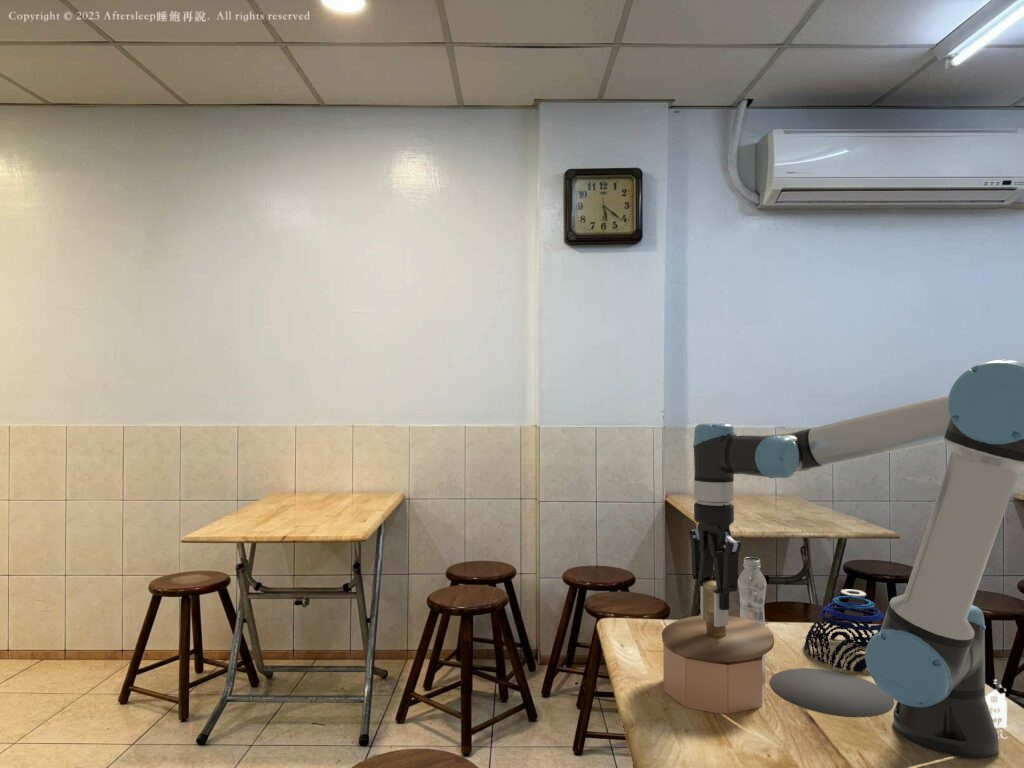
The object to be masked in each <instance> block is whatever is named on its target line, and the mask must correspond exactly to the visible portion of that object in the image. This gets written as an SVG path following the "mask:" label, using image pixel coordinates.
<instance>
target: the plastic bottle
mask: <svg viewBox="0 0 1024 768" xmlns="http://www.w3.org/2000/svg"><path fill="white" fill-rule="evenodd" d="M743 567H744V569H743V570H742V571H741V572H740V573H739V575H738V586H737V589H738V593H739V603H740V606H739V607H740V610H739V611H740V612H739V617H740V618H745V619H749V620H752V621H755V622H758V623H760V624H762V625H764V626H766V619H765V618H766V617H765V598H766V592H767V580H766V578H765V576H764V574H763V572H762V571H761V570H760V568H761V567H762V566H761V559H760V558H759V557H753V556H752V557H751V556H747V557H744V558H743Z"/></svg>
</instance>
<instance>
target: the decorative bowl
mask: <svg viewBox="0 0 1024 768" xmlns="http://www.w3.org/2000/svg"><path fill="white" fill-rule="evenodd" d="M840 593H841V594H843V595H841V596H840V595H839V596H836V597H833V598H832V602H831V603H830V602H829V603H826V605H825V606H824V607H823V609H821V610H820V612H819V616H820V618H821V619H822V621H821V622H820V620H816V621H814V622H813V624H812V625H810V629H809V630H808V631H807V634H806V637H805V642H804V647H803V649H804V650H807V654H808V656H809V657H811V656H812V658H813V659H816V660H817V661H819V662H821V663H823V664H825V665H828V666H829V665H830V666H831V667H834V668H838V669H844V668H845V670H846V671H851V666H853V665H852V664H854V666H853V667H852V670H853V672H860V673H863V671H864V670H866V669H867V665H866V660H865V652H866V649H862V648H861V647H863V648H866V647H867V645H868V643H869V641H870V639H871V638H872V636H873V635H875V632H874V631H877V632H879V631H880V629H881V627H882V624H883V622H882V623H880V624H876V625H875V624H873V625H872V624H871V625H869V624H868V622H877V621H878V622H879V621H884V618H885V614H883V613H882V612H881V610H879V609H878V608H876V603H874V602H873V601H871V600H870V599H866V598H863V597H866V596H867V593H866V592H865V591H863V590H859V589H851V588H850V589H848V588H845V589H841V590H840ZM842 599H848V600H849V599H851V600H859V601H863V602H866V604H865V603H858V602H849V601H847V602H843V601H841V600H842ZM834 606H835V607H834ZM839 606H840V607H839ZM866 609H867V610H866ZM869 610H870V611H869ZM840 611H849V612H854V613H858V614H865V615H854V614H848V613H843V612H840ZM872 611H874V612H872ZM875 612H876V613H875ZM825 614H828V615H829V616H828V617H827V616H826V615H825ZM860 623H861V624H860ZM837 630H846V631H837ZM853 631H854V632H855V633H854V632H853ZM869 633H870V634H869ZM850 634H851V635H850ZM856 634H857V635H856ZM863 635H865V636H866V637H865V636H863ZM838 636H842V637H843V638H844V640H842V641H841V642H840V643H838V644H837V646H835V647H834V649H833V652H831V647H830V640H835V639H836V638H838ZM818 644H819V647H818ZM849 644H852V646H850V645H849ZM848 645H849V647H848ZM845 646H846V648H845V649H844V650H842V649H843V647H845ZM819 649H820V651H819ZM824 649H825V651H826V652H825V651H824ZM856 649H857V650H856ZM811 650H812V654H811ZM840 651H842V652H841V654H839V653H840ZM819 652H820V653H819ZM859 652H864V653H859ZM831 653H832V654H831ZM857 653H858V654H857ZM847 654H848V655H847ZM838 655H840V657H838V659H837V656H838ZM853 655H854V656H853ZM845 656H846V657H845ZM852 656H853V657H852ZM863 656H864V657H863ZM816 657H817V658H816ZM851 657H852V658H851ZM862 657H863V658H862ZM850 658H851V659H850ZM861 658H862V659H861ZM858 659H859V660H858ZM825 660H826V661H825ZM856 660H858V661H856ZM835 661H836V662H835ZM842 662H843V663H842Z"/></svg>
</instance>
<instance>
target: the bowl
mask: <svg viewBox="0 0 1024 768" xmlns="http://www.w3.org/2000/svg"><path fill="white" fill-rule="evenodd" d="M662 648H663V649H662V650H663V692H664V693H665V694H666V695H668V696H670V698H672V699H673V700H675V701H677V702H678V703H679V704H680V705H682V706H684V707H685V708H687V709H692V710H696V711H697V710H698V711H703V712H709V713H712V714H713V713H714V714H719V715H724V716H726V714H734V713H738V712H744V711H748V710H749V711H750V710H753V709H758V708H763V704H764V700H765V694H766V654H764V655H762V656H759V657H757V658H753V659H749V660H745V661H738V662H707V661H700V660H695V659H690V658H686V657H683V656H680V655H678V654H676V653H674V652H672V651H670V650H669V649H668V648H667V647H666V646H665V645H664V644H663V647H662Z"/></svg>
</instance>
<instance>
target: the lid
mask: <svg viewBox="0 0 1024 768" xmlns="http://www.w3.org/2000/svg"><path fill="white" fill-rule="evenodd" d="M714 590H717V586H716V580H713V581H706V582H704V583H703V591H704V603H705V615H706V620H702V619H701V615H695V616H689V617H685V618H681V619H678V620H675V621H673V622H671V623H669V624H667V625H666V626H665V627H664V629H662V632H661V638H662V643H663V645H665V646H666V647H667V648H668V649H669V650H670V651H672V652H674V653H676V654H678V655H680V656H683V657H686V658H690V659H695V660H700V661H707V662H738V661H745V660H749V659H753V658H757V657H759V656H762V655H764V654H765V655H766V654H768V652H770V651H771V650H772V649H773V648H774V645H775V638H774V636H775V635H774V633H773V632H772V630H771V629H770V628H769V627H767V626H766V625H765V626H764V625H762V624H760V623H758V622H755V621H752V620H749V619H745V618H740V616H732V615H728V626H720V627H715V626H714Z"/></svg>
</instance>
